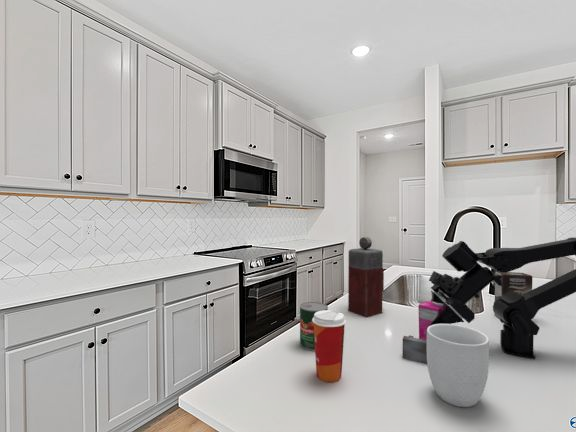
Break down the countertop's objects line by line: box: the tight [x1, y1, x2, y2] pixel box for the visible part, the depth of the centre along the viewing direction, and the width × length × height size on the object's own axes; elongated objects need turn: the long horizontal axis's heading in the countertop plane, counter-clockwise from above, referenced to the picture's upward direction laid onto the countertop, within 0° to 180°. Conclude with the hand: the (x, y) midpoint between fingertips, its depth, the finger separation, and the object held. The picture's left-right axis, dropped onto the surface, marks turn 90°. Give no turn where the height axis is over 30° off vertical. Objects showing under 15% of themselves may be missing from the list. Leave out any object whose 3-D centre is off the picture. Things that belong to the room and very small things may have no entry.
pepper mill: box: [347, 236, 385, 319], centre depth 114 cm, size 9×11×28 cm
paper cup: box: [312, 309, 347, 383], centre depth 69 cm, size 8×8×14 cm
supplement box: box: [417, 300, 443, 340], centre depth 85 cm, size 6×6×12 cm
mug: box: [426, 323, 490, 408], centre depth 63 cm, size 15×11×13 cm
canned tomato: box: [299, 301, 329, 352], centre depth 85 cm, size 8×8×11 cm
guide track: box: [401, 335, 427, 364], centre depth 79 cm, size 12×10×5 cm
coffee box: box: [493, 270, 533, 321], centre depth 106 cm, size 9×6×16 cm
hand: (427, 320), depth 86 cm, fingers closed on supplement box, 8 cm apart
